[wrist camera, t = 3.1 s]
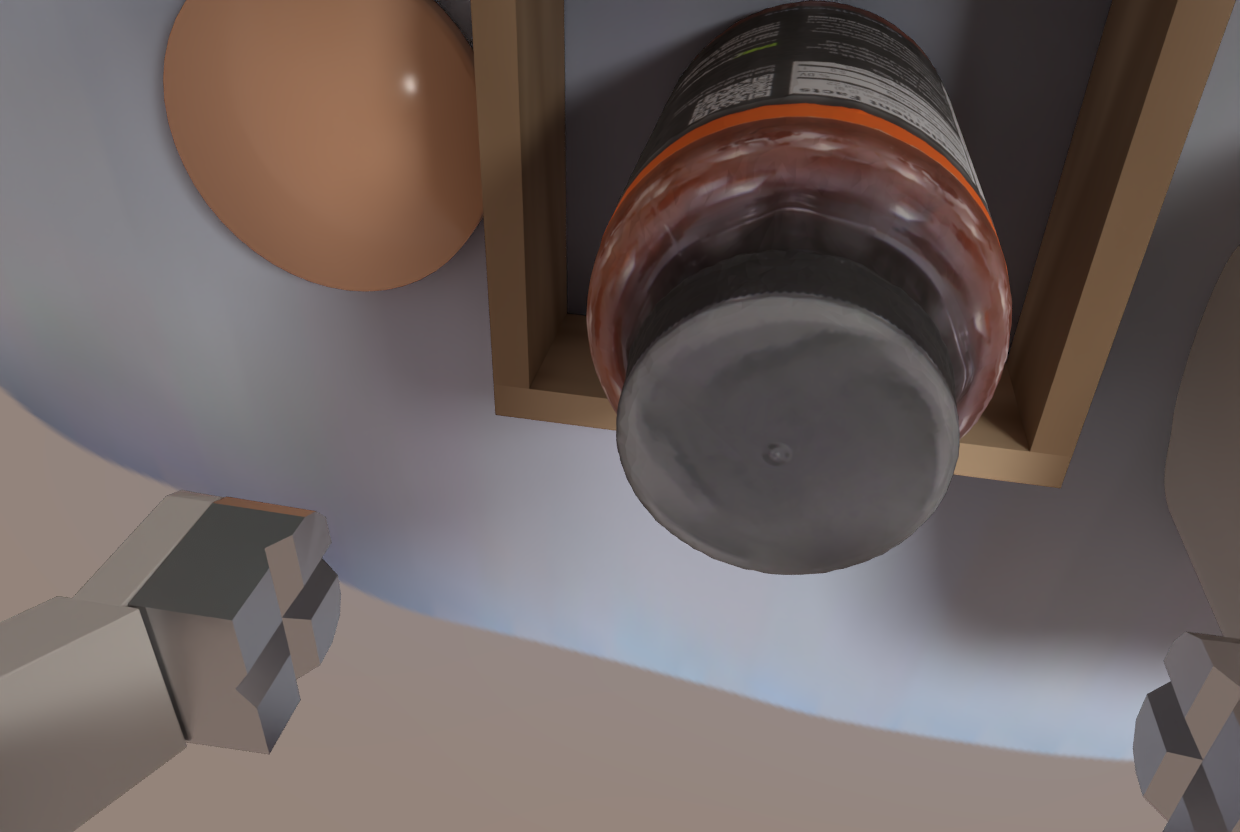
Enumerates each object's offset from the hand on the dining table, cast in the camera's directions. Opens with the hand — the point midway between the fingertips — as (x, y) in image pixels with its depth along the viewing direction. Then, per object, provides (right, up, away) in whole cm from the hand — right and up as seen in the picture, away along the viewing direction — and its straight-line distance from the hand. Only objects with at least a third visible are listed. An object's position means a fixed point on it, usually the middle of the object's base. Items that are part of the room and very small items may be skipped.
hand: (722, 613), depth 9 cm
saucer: (-7, +9, +13) cm, 17 cm away
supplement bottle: (+3, +8, +11) cm, 14 cm away
